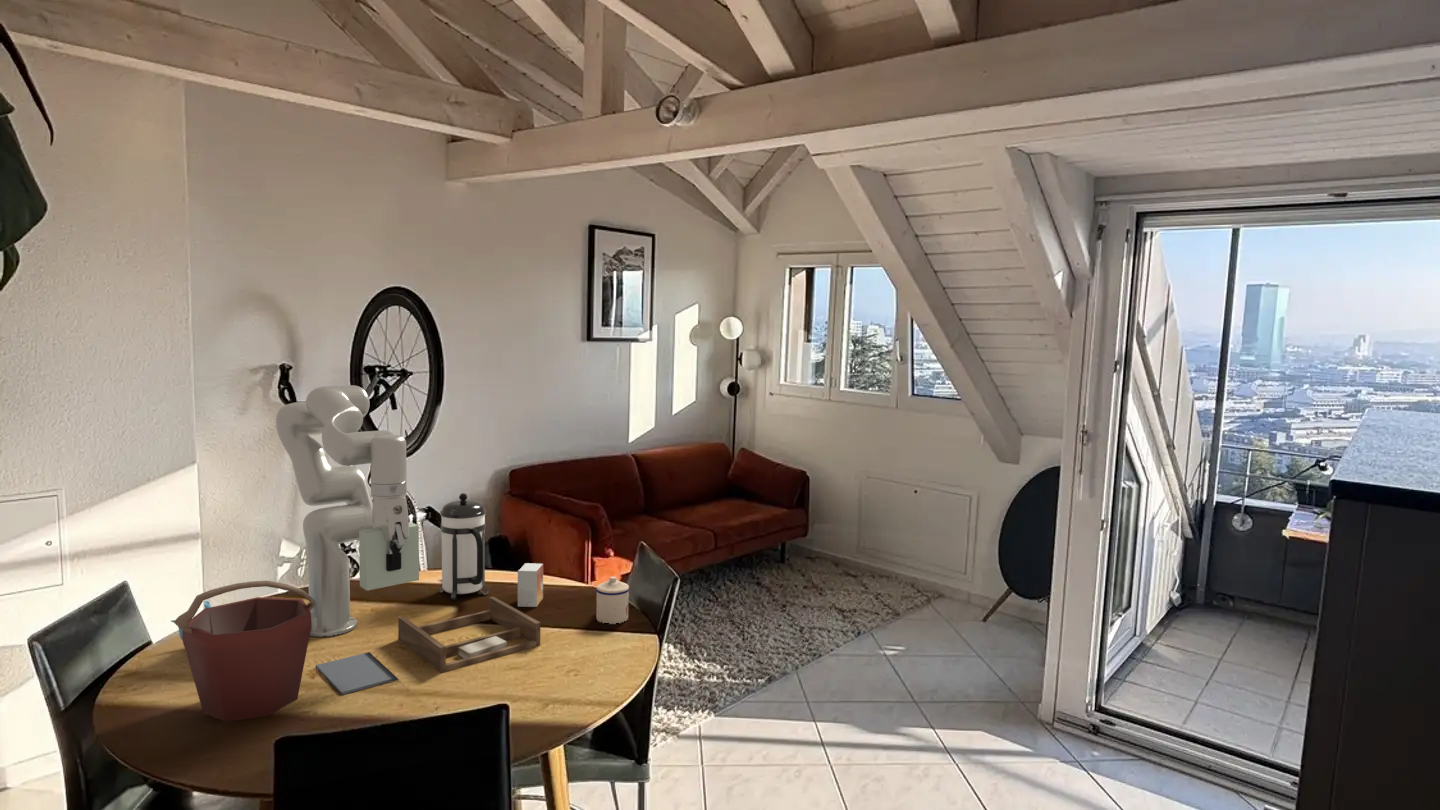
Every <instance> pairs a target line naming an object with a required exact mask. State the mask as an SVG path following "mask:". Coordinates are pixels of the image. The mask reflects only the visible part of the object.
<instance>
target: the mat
mask: <svg viewBox="0 0 1440 810" xmlns="http://www.w3.org/2000/svg"><path fill="white" fill-rule="evenodd" d="M315 669H317V671H318V672H319V673H320V672H321V673H322V674H323V675H324V676H325V677H324V676H323V675H322V674H321V675H322V676H323V677H324V678H325V679H326V680H327V681H328V682H329V683H330V685H332V686H333V687H334V688H335V690H336V691H337V692H339V694H340V695H341V696H342V695H347V694H351V693H355V692H358V691H362V690H365V689H369V688H373V687H376V686H379V685H384V684H387V683H392V682H395V681H399V680H400V679H399V678H398V677H397V676H396V675H395V674H394V673H393V672H391V670H390V669H388V668H387V666H385V665H384V664H382V662H381V661H380V660H379V659H377V658H376V657H375V656H374V655H373V654H372V653H371V652H370V651H368V652H364V653H361V654H360V653H359V654H356V655H352V656H348V657H344V658H339V659H335V660H331V661H327V662H326V661H325V662H323V663H318V664H316V665H315Z"/></svg>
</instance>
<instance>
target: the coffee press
mask: <svg viewBox="0 0 1440 810" xmlns="http://www.w3.org/2000/svg"><path fill="white" fill-rule="evenodd" d="M458 498H459V500H454V501H450V502H448V503H446V504H444V505H443V507H442V509H441V510H440V511H439V514H440V516H441V517H440V518H441V524H440V532H441V584H440V586H439V588H438V589H437V591H438V593H443V592H446V593H448V594H450V595H451V596H450V601H452V602H456V601H458V598H459V596H460V595H465V594H472V593H475V592H479V593H481V594H482V595H483V596H486V595H487V594H489V593H490V592H489V589H488V587H487V586H486V575H485V573H486V566H485V565H486V559H485V558H486V549H485V546H486V544H485V542H486V540H485V539H486V537H485V536H486V533H485V532H486V531H485V530H486V518H485V516H486V513H487V509H486V508H485V507H484V505H483V503H481V502H479V501H476V500H471V499H468V495H467V494H466V493H460V495H459V497H458ZM441 588H442V589H441ZM482 588H483V590H482Z"/></svg>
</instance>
